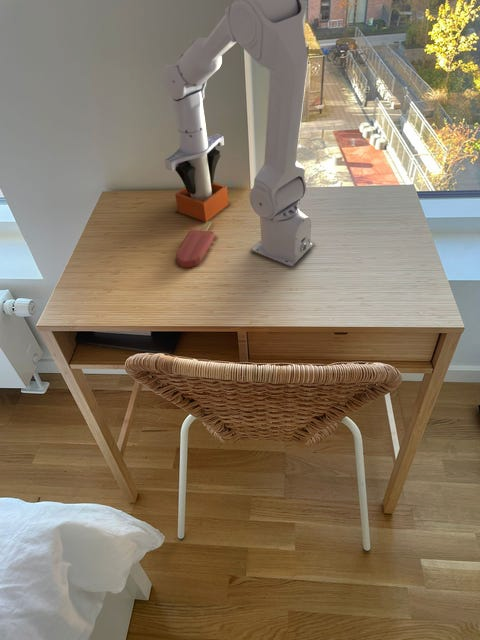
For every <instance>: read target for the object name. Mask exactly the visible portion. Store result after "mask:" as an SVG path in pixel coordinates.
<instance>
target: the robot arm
mask: <svg viewBox="0 0 480 640" xmlns="http://www.w3.org/2000/svg"><path fill="white" fill-rule="evenodd" d="M306 18H307V6H306V5H305V2H304V1H303V0H234V1H232V3H231V4H230V5H229V6H227V7H226V8H225V9H224V15H223V16H222V18H221V19H220V20H219V22H218V23H217V24H216V26H215V27H214V28H213V30H212V31H211V32H210V33H209V35H208V36H207V37H195V38H191V39H190V40H189V42H188V45H189V48H188V49H187V50H186V51H185V52H184V53H181V54H179V55H178V56H177V58H178V59H177V62H176V63H175V64H172V65H171V64H169V65H166V66H164V69H163V71H162V74H161V80H162V83H163V85H162V86H163V87H164V89H165V91H166V94H167V95H168V96H169V97H170V98H171V100H172V106H173V111H174V117H175V123H176V128H177V135H178V140H179V148H178V149H177V150H175V151H174V152H173V153H172V154H171V155H170V156H168V157H167V158H165V159H164V164H165V165H164V166H165V169H167V170H168V171H171V172H173V171H175V172H176V173H177V174H178V176H179V177H180V179H181V181H182V183H183V185H184V187H186V189H187V192H189V193H191V194H195V192H196V189H195V182H194V174H195V167H193V166H191V165H190V163H188V160H191V159H195V158H198V157H202V156H204V155H206V154H207V159H208V166H209V174H210V182H211V184H213V182H214V181H215V180H214V179H215V172H216V168H217V165H218V162H219V160H220V159H221V151H220V150H218V149H217V148H216V147H222V146H224V145H225V141H224V140H225V139H224V135H222V134H219V133H215V134H213V135H211V136H210V135H209V136H208V134H207V132H208V131H207V126H206V118H205V117H206V116H205V110H204V109H205V108H204V102H203V101H204V100H205V98H206V97H205V89H206V86H207V81H208V80H209V79H210V78H211V77H212V76H213V75H214V74H215V73H216V72H217V71H218V70H219V69H220V67H222V66H221V65H222V63H223V55H224V54H226V52H227V51H228V50H229V49H231V48H232V47H233V46H234V45H236V44H237V43H238V45H239V46H240V47H241V48H242V49H243V50H244V51H245V52H246V53H247V54H248V55H249V56H250V57H251V58H252V59H253V60H254V61H255V62H256V64H258V65H259V66H260V67H263V68H266V69H267V70H268V72H269V81H268V96H267V113H266V114H267V115H266V128H265V129H266V131H265V144H264V145H265V146H264V162H263V165H262V166H261V167H260V169H259V171H258V172H257V174H256V175H255V176H254V179H253V187H252V188H251V190H250V191H249V203H250V206H251V207H252V210H253V211H254V213H255V214H256V215H258V216H259V222H260V241H259V243H257V244H256V245H255V246H254V247H253V248H252V252H254V253H256V254H258V255H261V256H264V257H267V258H269V259H271V260H274V261H276V262H279V263H282V264H284V265H287V266H289V267H293V266H295V264H297V263H298V261H299V260H301V258H302V257H303V256H304V255H305V254H306V253H307V252H308V251H309V250H310V249H311V248H312V247H313V243H312V242H311V241H312V240H311V239H312V220H311V218H310V216H308V215H305V214H304V213H303V212H302V211H300V209H299V207H300V206H301V200H302V199H303V198H304V197H305V196H306V194H307V189H308V187H307V183H306V177H305V172H306V168H305V167H304V166H303V165H302V164H301V163H300V162H298V161H297V158H298V149H299V142H300V133H301V124H302V116H303V108H304V107H303V106H304V101H305V100H304V99H305V92H306V83H307V75H308V74H307V73H308V65H309V56H308V48H307V42H306V36H305V25H306Z"/></svg>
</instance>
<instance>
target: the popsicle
mask: <svg viewBox="0 0 480 640" xmlns="http://www.w3.org/2000/svg"><path fill="white" fill-rule="evenodd" d="M211 225H212V221H211V220H208V221H207V222H204V225H203V227H202V229H194V228H193V229H192V228H191V229H190V230H189V231H188V233H187V235H186V236H185V238H184V240H183V242H182V243H181V245H180V247H179V249H178V251H177V252H176V262H177V264H178V265H179V266H180V267H182V268H192V267H195V266H197V265H199V264H200V263H201V262H202V260H203V259H204V257H205V255H206V254H207V252H208V250H209V248H210V246H211V244H212V243H213V241H214V239H215V232H214V231H210V230H209V228H210V227H211Z"/></svg>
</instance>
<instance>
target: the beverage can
mask: <svg viewBox="0 0 480 640" xmlns="http://www.w3.org/2000/svg"><path fill="white" fill-rule="evenodd" d="M188 163H190V165H191V166H193V167H195V174H194V182H195V189H196V192H195V194H191V193H190V195H191V198H193V199H196V200H198V201H201V202H204V201H205V200H207V199H208V198H209V197H211V196H212V189H211V182H210V174H209V166H208V159H207V154H206V155H204V156H202V157H198V158H195V159H191V160H188Z"/></svg>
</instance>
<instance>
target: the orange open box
mask: <svg viewBox="0 0 480 640" xmlns="http://www.w3.org/2000/svg"><path fill="white" fill-rule="evenodd" d="M211 189H212V196H211V197H209V198H208V199H207V200H205V201H204V202H201V201H198V200H196V199H193V198H191V195H190V193H189V192H187V189H186V187H185V186H184V187H183V188H182V189H180V190H179V191H177V192H176V193H174V195H175V202H176V206H177V210H178V212H179V213H180V214H183V215H186V216H188V217H192V218H194V219H197V220H199V221H202V222H204V223H206V222H207V221H210V220H211V219H212V218H213V217H215V216H216V215H217V214H218V213H220V212H221V211H223V209H225V208H226V207H227V206H229V195H228V186H226V185H223V184H220V183H217V182H214V181H213V184H211Z"/></svg>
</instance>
